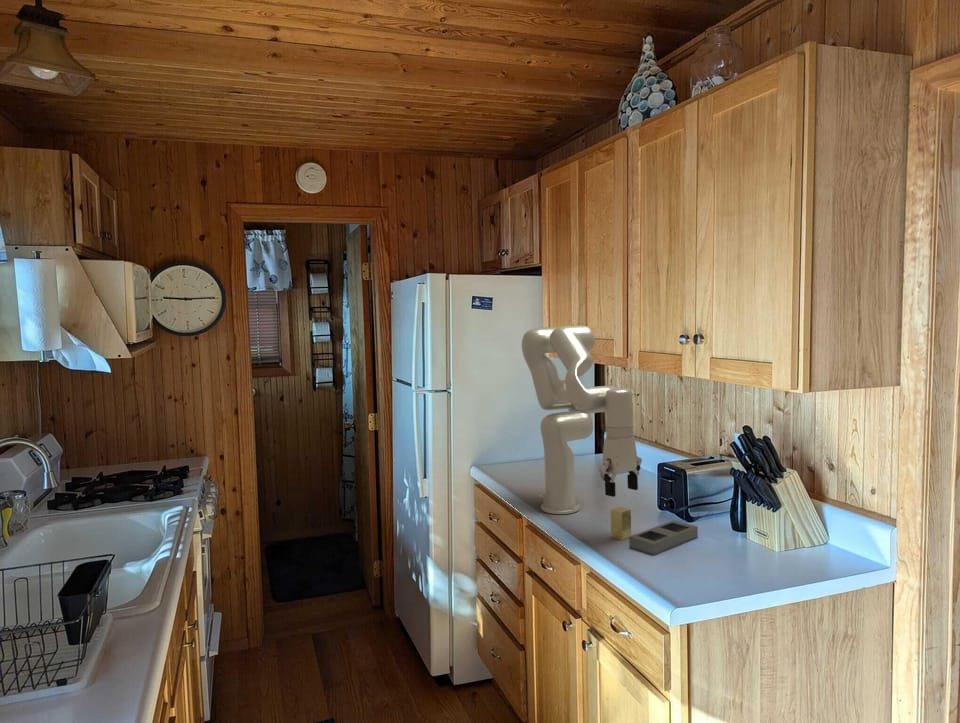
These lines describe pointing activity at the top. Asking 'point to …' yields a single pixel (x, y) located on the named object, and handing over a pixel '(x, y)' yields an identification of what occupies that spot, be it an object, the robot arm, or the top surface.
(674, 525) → the grey slotted block
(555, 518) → the top surface
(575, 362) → the robot arm
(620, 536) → the yellow rectangular block
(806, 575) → the top surface
